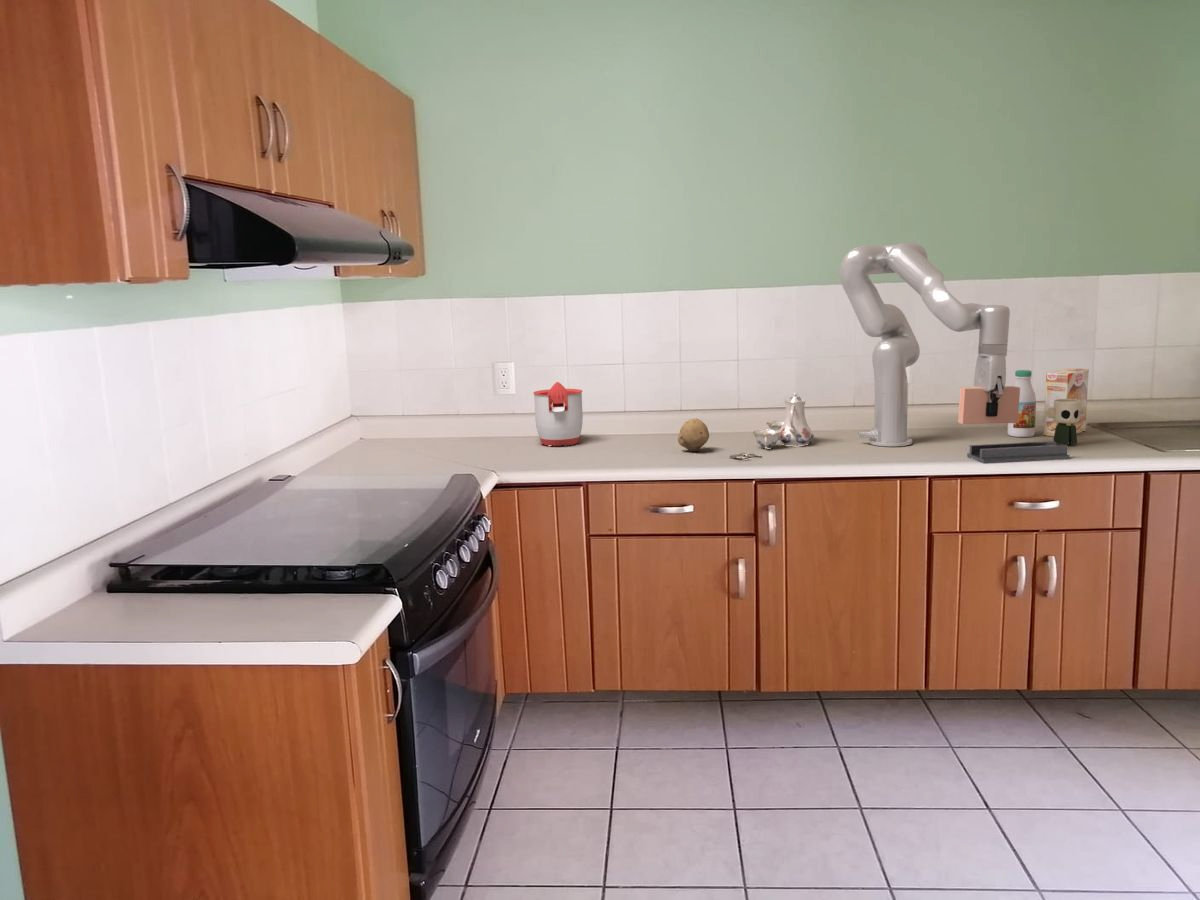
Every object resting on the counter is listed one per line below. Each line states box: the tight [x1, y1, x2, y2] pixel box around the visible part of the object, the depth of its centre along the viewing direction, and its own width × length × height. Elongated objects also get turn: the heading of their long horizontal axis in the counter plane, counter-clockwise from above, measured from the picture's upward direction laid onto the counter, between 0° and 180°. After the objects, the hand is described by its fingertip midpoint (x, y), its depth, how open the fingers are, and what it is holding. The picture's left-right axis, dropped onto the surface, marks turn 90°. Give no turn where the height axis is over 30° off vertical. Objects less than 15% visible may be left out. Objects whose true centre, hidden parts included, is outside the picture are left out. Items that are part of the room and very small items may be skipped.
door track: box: [966, 440, 1071, 464], centre depth 280 cm, size 24×10×4 cm, turn 95°
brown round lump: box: [677, 418, 710, 453], centre depth 306 cm, size 9×9×10 cm
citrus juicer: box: [532, 381, 584, 447], centre depth 326 cm, size 16×17×20 cm
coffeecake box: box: [1042, 367, 1090, 437], centre depth 314 cm, size 15×7×20 cm, turn 132°
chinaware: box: [752, 391, 814, 450], centre depth 313 cm, size 28×17×17 cm, turn 162°
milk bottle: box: [1007, 369, 1037, 438], centre depth 313 cm, size 8×8×20 cm
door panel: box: [957, 385, 1020, 425], centre depth 288 cm, size 16×3×10 cm, turn 95°
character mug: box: [1048, 399, 1087, 445], centre depth 296 cm, size 11×7×13 cm, turn 91°
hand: (988, 414), depth 289 cm, fingers closed on door panel, 3 cm apart
